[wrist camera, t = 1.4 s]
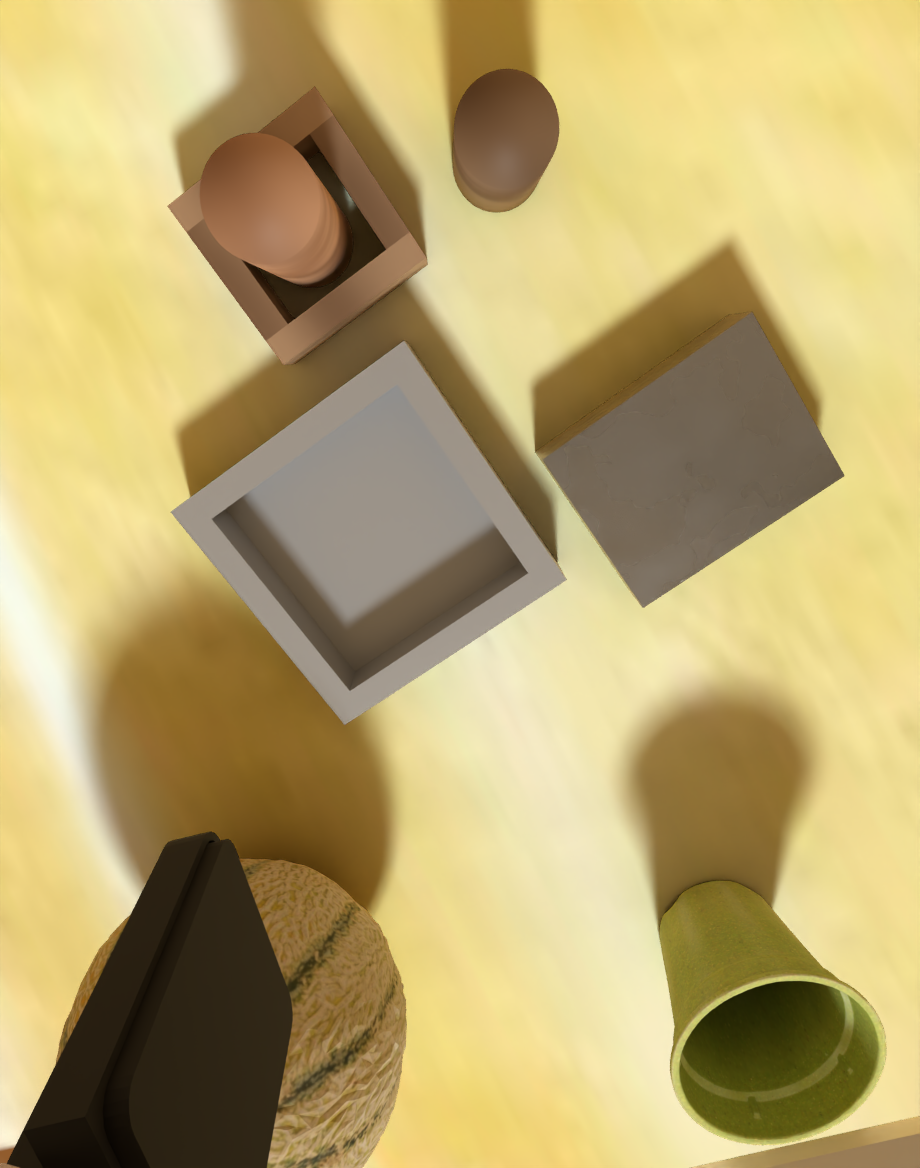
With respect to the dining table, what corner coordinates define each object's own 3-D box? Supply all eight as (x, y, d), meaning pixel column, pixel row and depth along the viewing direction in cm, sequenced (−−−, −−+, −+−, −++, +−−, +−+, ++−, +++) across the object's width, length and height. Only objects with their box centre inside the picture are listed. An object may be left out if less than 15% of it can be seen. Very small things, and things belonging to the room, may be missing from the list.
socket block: (324, 107, 31) (314, 86, 28) (427, 264, 32) (426, 257, 30) (188, 217, 32) (167, 206, 29) (294, 363, 33) (283, 364, 31)
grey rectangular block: (725, 315, 34) (751, 311, 31) (812, 465, 36) (844, 475, 33) (534, 450, 35) (542, 459, 32) (627, 588, 37) (643, 608, 34)
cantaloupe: (382, 1049, 44) (352, 1385, 30) (122, 1004, 43) (-40, 1332, 29) (442, 829, 40) (440, 1094, 26) (156, 772, 39) (-13, 1018, 25)
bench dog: (509, 93, 31) (521, 44, 26) (558, 176, 32) (579, 144, 27) (435, 150, 31) (433, 113, 26) (485, 231, 32) (492, 209, 27)
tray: (407, 341, 33) (403, 340, 31) (557, 563, 36) (566, 579, 34) (190, 500, 35) (170, 512, 32) (351, 699, 38) (344, 725, 35)
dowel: (317, 173, 31) (269, 105, 23) (370, 253, 32) (343, 216, 24) (247, 228, 32) (174, 183, 23) (301, 305, 33) (251, 288, 24)
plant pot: (612, 872, 41) (654, 1004, 33) (788, 833, 41) (877, 956, 32) (644, 1009, 44) (690, 1163, 35) (810, 973, 43) (897, 1121, 35)
